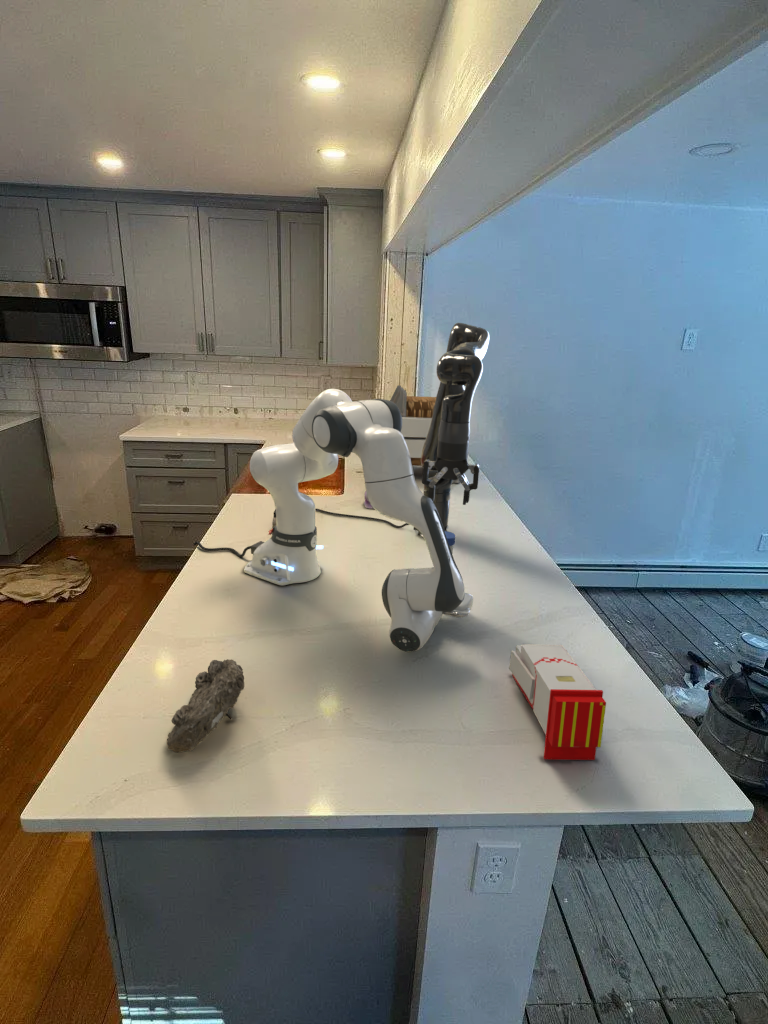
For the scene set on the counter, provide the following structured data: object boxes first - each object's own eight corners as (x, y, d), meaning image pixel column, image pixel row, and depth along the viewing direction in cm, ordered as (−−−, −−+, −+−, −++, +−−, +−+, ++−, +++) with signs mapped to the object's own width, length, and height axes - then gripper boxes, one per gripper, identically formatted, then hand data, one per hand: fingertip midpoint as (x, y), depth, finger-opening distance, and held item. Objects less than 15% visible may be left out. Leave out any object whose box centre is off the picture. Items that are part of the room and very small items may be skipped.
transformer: (382, 463, 289) (386, 382, 275) (445, 464, 293) (451, 384, 279) (390, 482, 257) (394, 392, 243) (460, 483, 261) (468, 394, 247)
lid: (446, 537, 151) (446, 529, 150) (459, 544, 147) (459, 536, 146) (430, 540, 148) (431, 533, 148) (443, 547, 144) (444, 540, 144)
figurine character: (291, 537, 195) (296, 518, 209) (290, 518, 192) (296, 499, 206) (271, 537, 195) (278, 517, 209) (270, 517, 192) (277, 498, 205)
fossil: (192, 660, 117) (244, 628, 112) (224, 691, 120) (276, 661, 115) (142, 746, 98) (202, 712, 93) (182, 779, 101) (242, 748, 96)
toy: (558, 627, 126) (616, 698, 97) (552, 682, 129) (607, 767, 99) (504, 626, 126) (545, 697, 96) (499, 681, 128) (538, 766, 99)
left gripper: (468, 606, 134) (480, 581, 147) (387, 588, 141) (405, 566, 153) (465, 629, 137) (477, 603, 149) (386, 610, 143) (403, 587, 155)
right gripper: (483, 438, 141) (477, 500, 146) (426, 433, 143) (422, 495, 149) (482, 444, 134) (475, 510, 139) (422, 439, 136) (418, 503, 142)
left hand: (440, 584), depth 151 cm, fingers open, 8 cm apart
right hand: (448, 502), depth 144 cm, fingers open, 7 cm apart
